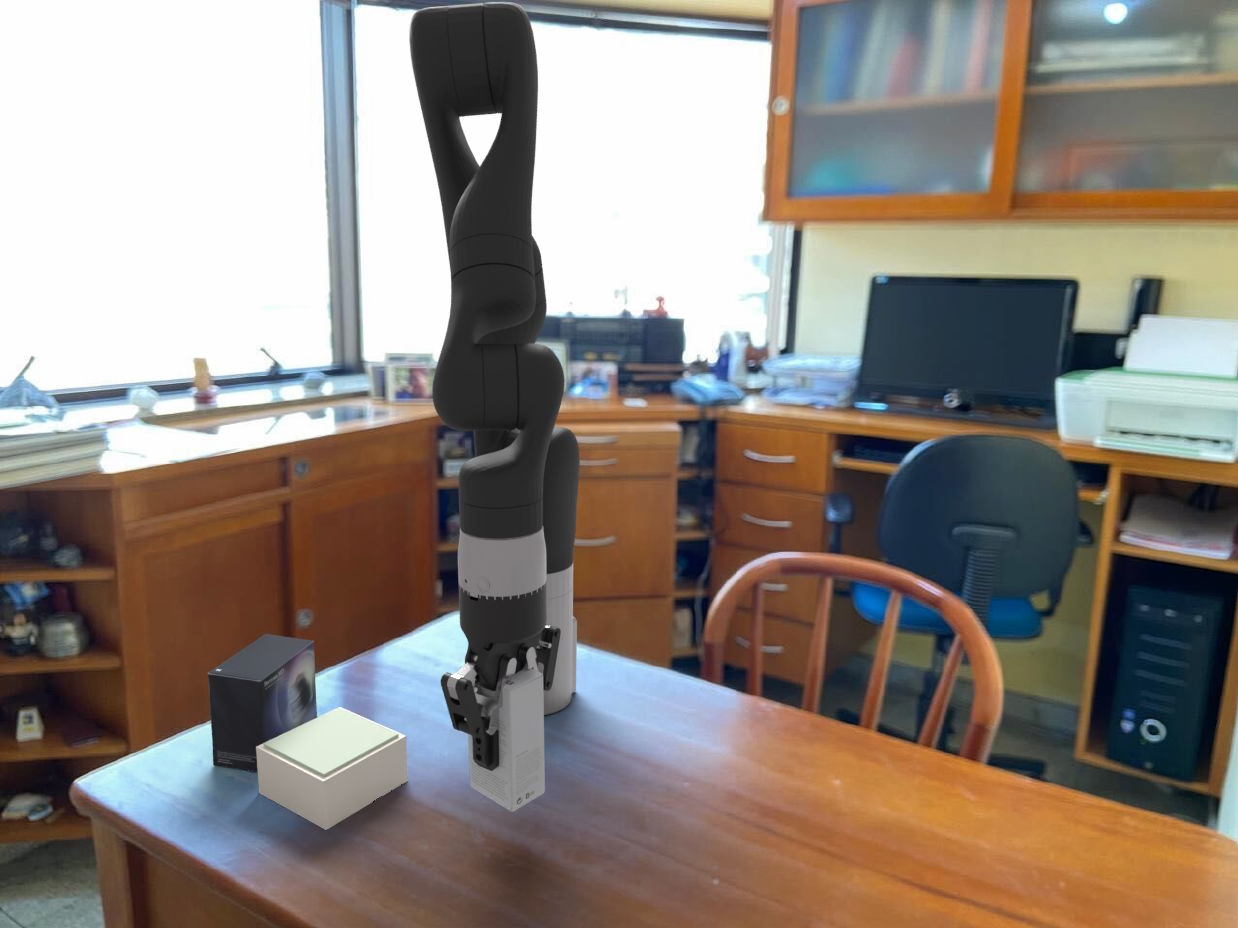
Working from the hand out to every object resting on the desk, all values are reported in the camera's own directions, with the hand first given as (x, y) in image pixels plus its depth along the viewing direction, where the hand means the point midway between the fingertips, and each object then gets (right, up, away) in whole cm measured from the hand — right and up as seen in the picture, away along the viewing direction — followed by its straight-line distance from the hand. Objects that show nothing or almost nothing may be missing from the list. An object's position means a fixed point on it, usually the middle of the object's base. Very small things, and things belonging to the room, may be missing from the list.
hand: (506, 752), depth 83 cm
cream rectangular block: (-18, -6, +8) cm, 21 cm away
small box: (-27, -4, +15) cm, 32 cm away
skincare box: (0, -4, +1) cm, 4 cm away
